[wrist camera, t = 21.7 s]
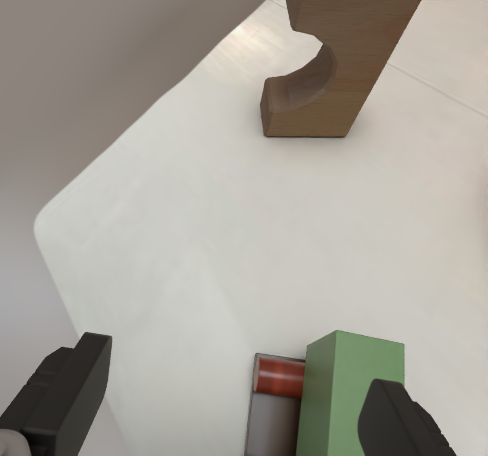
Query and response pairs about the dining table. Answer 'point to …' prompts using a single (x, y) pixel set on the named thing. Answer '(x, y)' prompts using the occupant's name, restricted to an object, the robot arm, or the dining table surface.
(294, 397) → the rod rack
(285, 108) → the decorative block
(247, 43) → the dining table surface
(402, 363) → the bar
